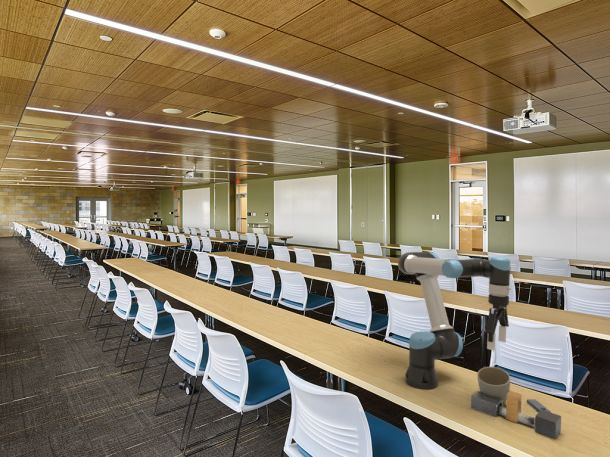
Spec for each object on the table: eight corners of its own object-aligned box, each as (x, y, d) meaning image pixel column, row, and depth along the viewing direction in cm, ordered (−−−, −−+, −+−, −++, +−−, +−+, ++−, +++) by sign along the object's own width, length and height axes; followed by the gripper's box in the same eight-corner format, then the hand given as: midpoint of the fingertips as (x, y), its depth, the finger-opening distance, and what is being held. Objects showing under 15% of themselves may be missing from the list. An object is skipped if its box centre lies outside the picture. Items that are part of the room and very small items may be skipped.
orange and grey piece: (480, 410, 157) (481, 385, 157) (484, 406, 160) (485, 383, 160) (532, 428, 143) (533, 402, 143) (535, 424, 146) (536, 398, 146)
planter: (517, 404, 159) (516, 382, 156) (488, 410, 159) (487, 388, 156) (499, 385, 171) (498, 364, 168) (473, 390, 170) (471, 370, 168)
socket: (535, 431, 141) (535, 415, 141) (540, 425, 146) (541, 409, 146) (555, 439, 137) (555, 422, 137) (560, 432, 141) (561, 415, 141)
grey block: (470, 408, 159) (471, 395, 159) (477, 402, 163) (478, 390, 163) (496, 417, 152) (496, 404, 151) (502, 411, 156) (502, 399, 156)
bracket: (535, 403, 164) (535, 399, 164) (551, 416, 154) (551, 411, 154) (526, 403, 164) (526, 399, 164) (541, 416, 154) (541, 411, 154)
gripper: (498, 300, 146) (496, 355, 147) (517, 291, 164) (515, 340, 165) (478, 297, 151) (475, 350, 152) (499, 289, 169) (497, 336, 170)
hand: (496, 345), depth 158 cm, fingers open, 13 cm apart
